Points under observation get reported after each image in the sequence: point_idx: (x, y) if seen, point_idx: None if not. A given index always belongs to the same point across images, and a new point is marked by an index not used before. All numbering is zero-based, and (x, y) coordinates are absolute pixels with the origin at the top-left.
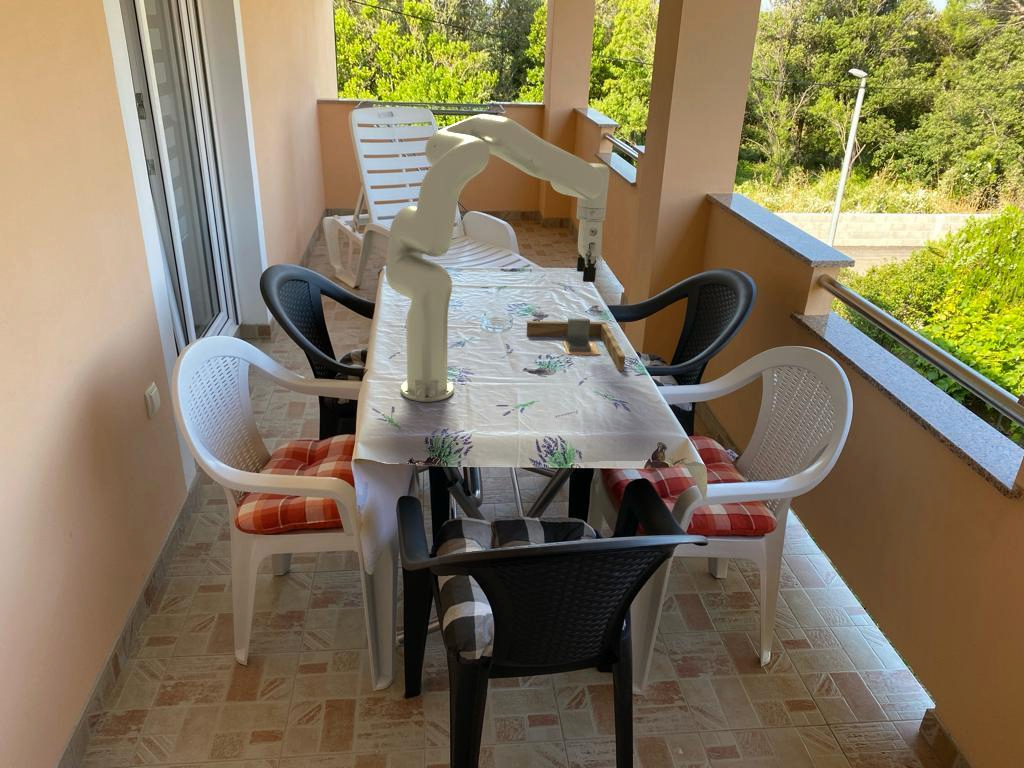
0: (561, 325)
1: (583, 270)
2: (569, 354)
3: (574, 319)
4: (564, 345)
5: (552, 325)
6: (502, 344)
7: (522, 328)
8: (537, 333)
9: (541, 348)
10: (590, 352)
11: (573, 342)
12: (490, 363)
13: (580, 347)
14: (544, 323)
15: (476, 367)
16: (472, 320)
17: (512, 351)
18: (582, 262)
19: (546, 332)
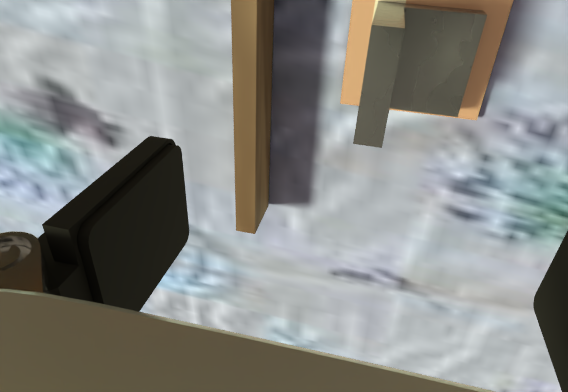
0: (258, 108)
1: (180, 194)
2: (478, 111)
3: (371, 114)
4: None
5: (257, 144)
6: (333, 283)
7: (193, 197)
8: (266, 179)
9: (382, 188)
10: (490, 12)
11: (412, 85)
12: (477, 344)
13: (471, 66)
14: (255, 178)
15: (495, 376)
16: (147, 300)
17: (395, 274)
18: (138, 267)
19: (266, 152)
